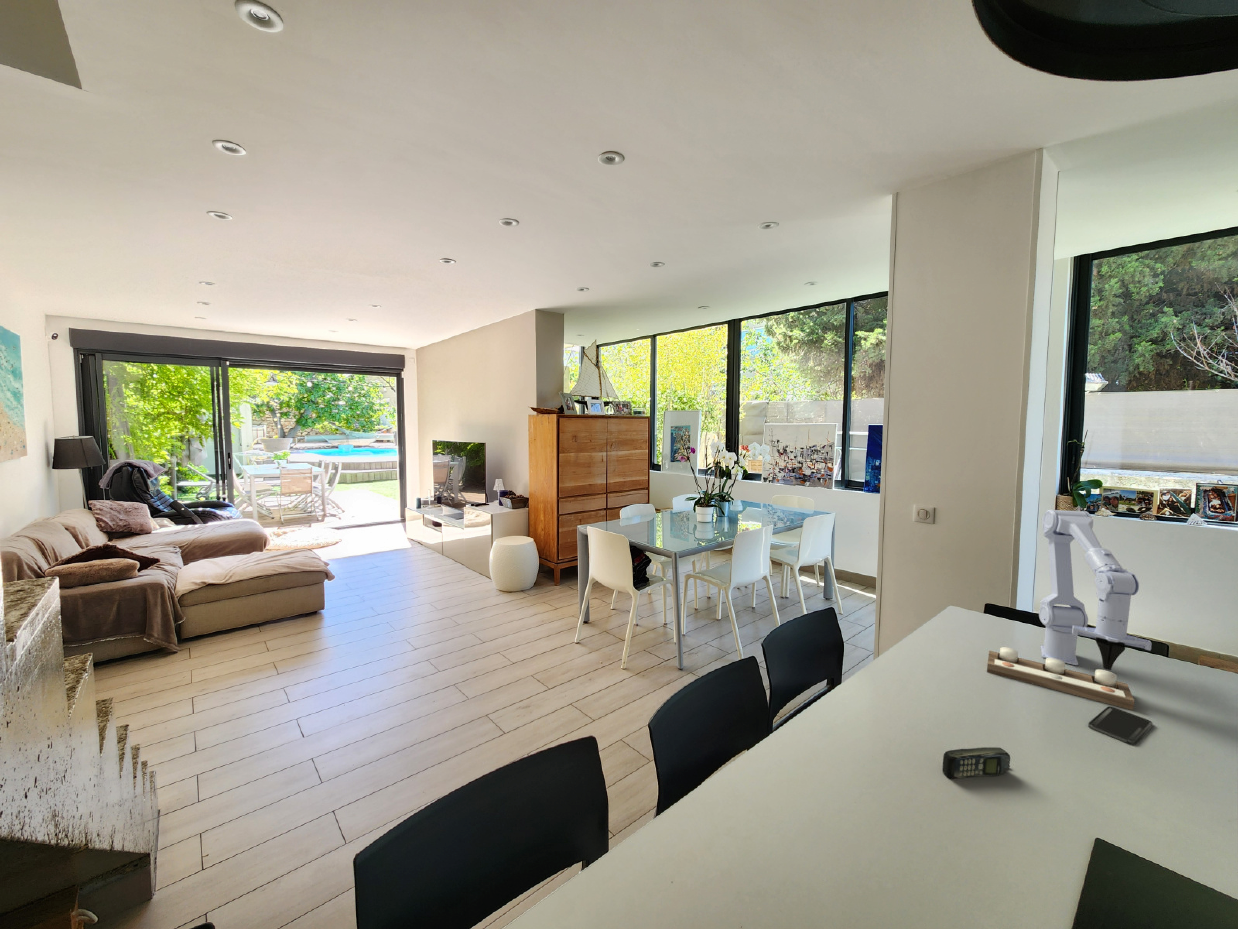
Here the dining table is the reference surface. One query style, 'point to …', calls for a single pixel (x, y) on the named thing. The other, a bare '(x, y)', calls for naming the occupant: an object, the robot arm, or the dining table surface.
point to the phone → (1120, 725)
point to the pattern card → (1060, 678)
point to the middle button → (1055, 665)
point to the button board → (1061, 686)
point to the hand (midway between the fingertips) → (1106, 668)
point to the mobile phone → (975, 762)
